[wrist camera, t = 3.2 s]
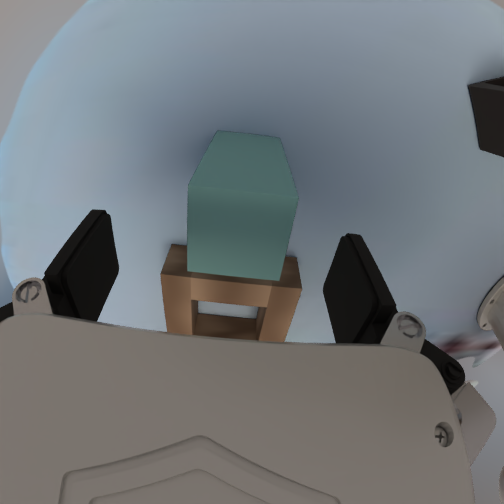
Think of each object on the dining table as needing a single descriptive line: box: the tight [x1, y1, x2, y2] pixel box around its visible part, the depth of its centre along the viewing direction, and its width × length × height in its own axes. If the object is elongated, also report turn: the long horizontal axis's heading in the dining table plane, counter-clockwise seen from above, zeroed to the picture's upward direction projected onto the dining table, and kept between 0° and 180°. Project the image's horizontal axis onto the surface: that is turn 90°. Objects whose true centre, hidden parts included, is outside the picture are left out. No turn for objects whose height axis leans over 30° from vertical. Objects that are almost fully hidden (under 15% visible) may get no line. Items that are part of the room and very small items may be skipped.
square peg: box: [187, 131, 299, 281], centre depth 17 cm, size 4×4×10 cm
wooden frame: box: [161, 244, 302, 342], centre depth 29 cm, size 11×18×4 cm, turn 173°
